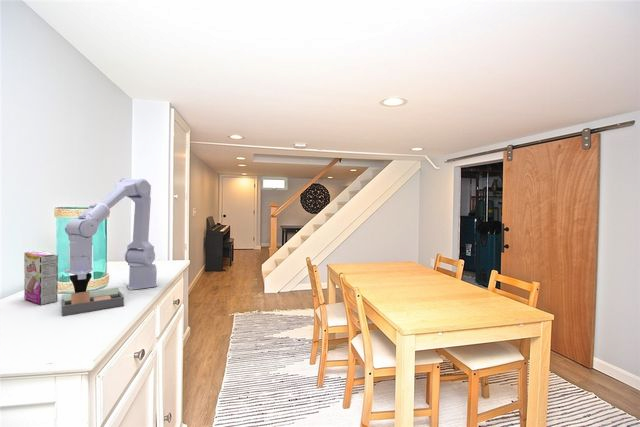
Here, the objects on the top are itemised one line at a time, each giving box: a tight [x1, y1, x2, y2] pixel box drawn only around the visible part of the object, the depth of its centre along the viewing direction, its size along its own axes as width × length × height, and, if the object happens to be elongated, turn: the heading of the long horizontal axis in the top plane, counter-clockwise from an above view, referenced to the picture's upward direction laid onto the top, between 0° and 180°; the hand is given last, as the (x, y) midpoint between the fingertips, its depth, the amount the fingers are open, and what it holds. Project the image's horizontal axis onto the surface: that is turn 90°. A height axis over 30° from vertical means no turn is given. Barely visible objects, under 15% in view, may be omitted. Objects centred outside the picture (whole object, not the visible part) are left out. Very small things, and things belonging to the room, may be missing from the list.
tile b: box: [70, 290, 91, 304], centre depth 94 cm, size 4×4×2 cm
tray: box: [61, 290, 125, 317], centre depth 96 cm, size 16×8×3 cm, turn 132°
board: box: [61, 287, 121, 303], centre depth 103 cm, size 16×8×2 cm, turn 132°
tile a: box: [93, 295, 111, 301], centre depth 98 cm, size 4×4×2 cm
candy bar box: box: [23, 250, 59, 306], centre depth 100 cm, size 11×5×16 cm, turn 65°
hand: (80, 296), depth 96 cm, fingers closed
